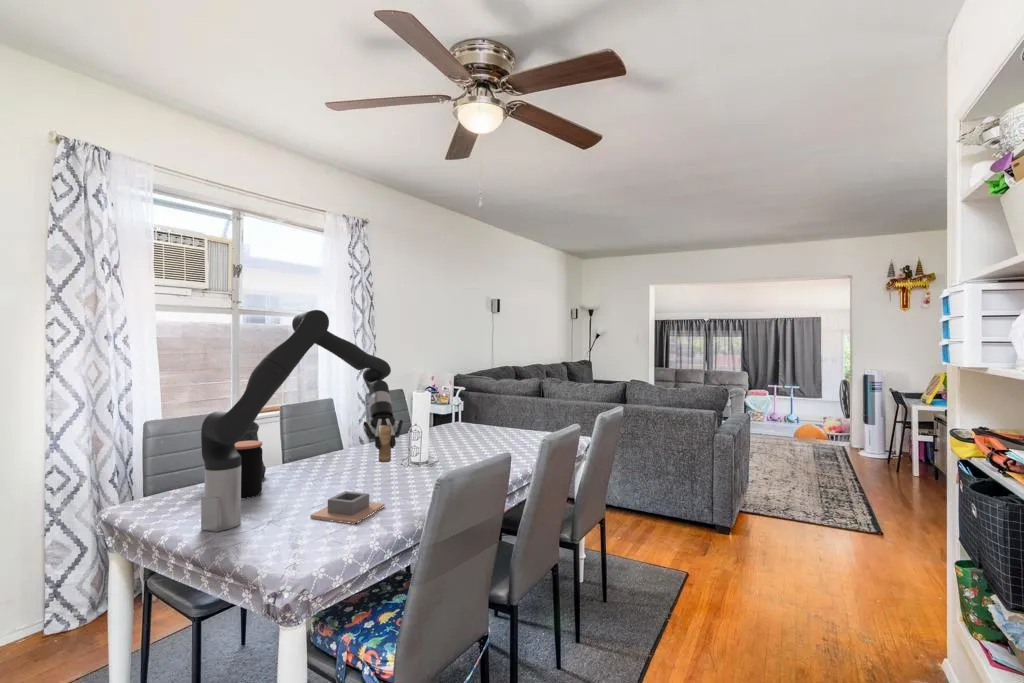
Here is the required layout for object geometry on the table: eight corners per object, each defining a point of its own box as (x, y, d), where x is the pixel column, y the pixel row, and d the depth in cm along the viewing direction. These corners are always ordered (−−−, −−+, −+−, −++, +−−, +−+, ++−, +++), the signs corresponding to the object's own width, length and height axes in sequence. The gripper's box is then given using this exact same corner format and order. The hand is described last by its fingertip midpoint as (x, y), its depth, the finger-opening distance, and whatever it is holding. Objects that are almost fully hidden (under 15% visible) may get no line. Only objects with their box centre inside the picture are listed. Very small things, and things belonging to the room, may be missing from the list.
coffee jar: (268, 490, 177) (268, 440, 177) (249, 500, 167) (250, 447, 167) (240, 489, 178) (241, 440, 178) (220, 498, 168) (220, 446, 168)
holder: (355, 524, 146) (355, 507, 146) (310, 518, 150) (310, 501, 150) (384, 507, 161) (384, 491, 161) (342, 502, 166) (342, 487, 166)
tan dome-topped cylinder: (386, 462, 164) (387, 427, 164) (376, 461, 165) (376, 426, 165) (393, 460, 168) (393, 425, 168) (382, 459, 169) (383, 424, 169)
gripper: (361, 400, 171) (365, 442, 160) (402, 399, 176) (408, 439, 165) (359, 414, 176) (362, 455, 165) (399, 412, 181) (405, 452, 170)
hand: (385, 447), depth 165 cm, fingers closed on tan dome-topped cylinder, 4 cm apart
